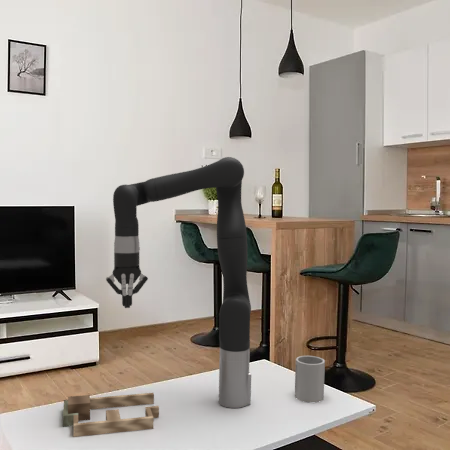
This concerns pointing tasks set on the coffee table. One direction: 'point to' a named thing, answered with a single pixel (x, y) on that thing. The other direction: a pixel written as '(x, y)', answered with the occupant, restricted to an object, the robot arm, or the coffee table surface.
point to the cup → (309, 378)
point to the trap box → (113, 415)
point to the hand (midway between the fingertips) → (127, 307)
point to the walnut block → (80, 406)
